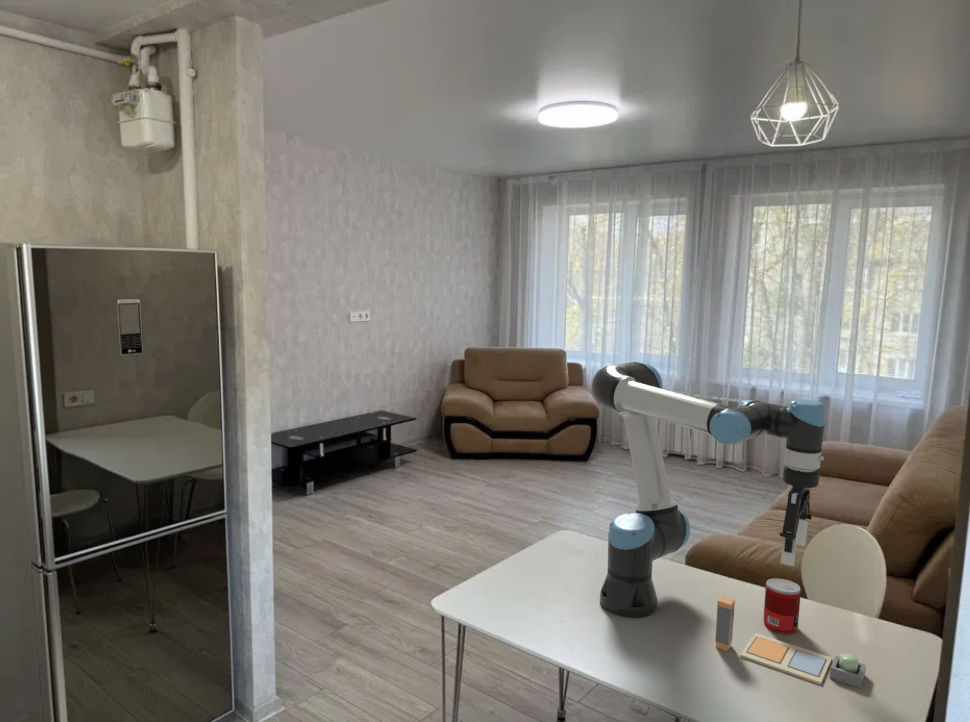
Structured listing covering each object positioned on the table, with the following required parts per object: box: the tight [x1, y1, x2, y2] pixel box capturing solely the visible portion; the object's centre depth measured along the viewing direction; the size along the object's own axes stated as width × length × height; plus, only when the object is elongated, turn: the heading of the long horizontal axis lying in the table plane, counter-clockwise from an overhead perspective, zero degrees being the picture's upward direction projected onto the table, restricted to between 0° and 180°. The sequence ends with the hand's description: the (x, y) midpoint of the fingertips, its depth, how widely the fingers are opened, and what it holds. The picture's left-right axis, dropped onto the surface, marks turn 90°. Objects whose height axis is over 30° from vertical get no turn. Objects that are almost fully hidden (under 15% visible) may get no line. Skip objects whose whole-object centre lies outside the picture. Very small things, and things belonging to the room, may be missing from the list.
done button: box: [839, 653, 859, 674], centre depth 145 cm, size 4×4×3 cm
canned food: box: [763, 577, 802, 635], centre depth 166 cm, size 8×8×11 cm
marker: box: [715, 595, 736, 652], centre depth 156 cm, size 3×3×12 cm
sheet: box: [739, 632, 833, 686], centre depth 152 cm, size 17×12×1 cm
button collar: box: [829, 655, 867, 689], centre depth 145 cm, size 6×6×2 cm
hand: (793, 554), depth 155 cm, fingers open, 13 cm apart
